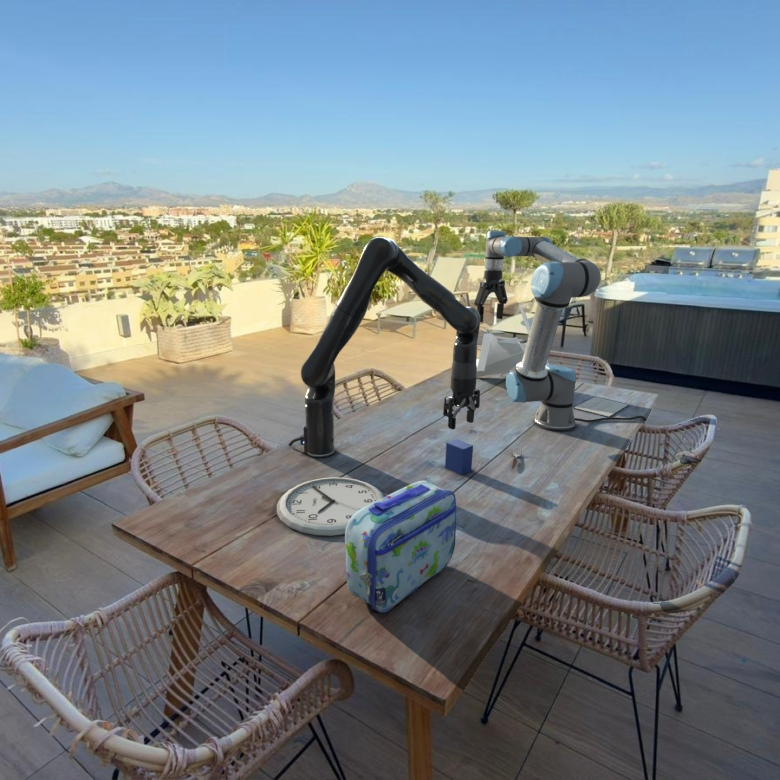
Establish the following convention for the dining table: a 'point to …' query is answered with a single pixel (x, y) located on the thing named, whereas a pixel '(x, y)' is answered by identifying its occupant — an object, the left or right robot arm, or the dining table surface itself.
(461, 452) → the block
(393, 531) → the lunch box
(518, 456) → the fork
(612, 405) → the invitation card
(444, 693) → the dining table surface
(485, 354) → the white plastic object
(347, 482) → the wall clock
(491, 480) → the dining table surface
